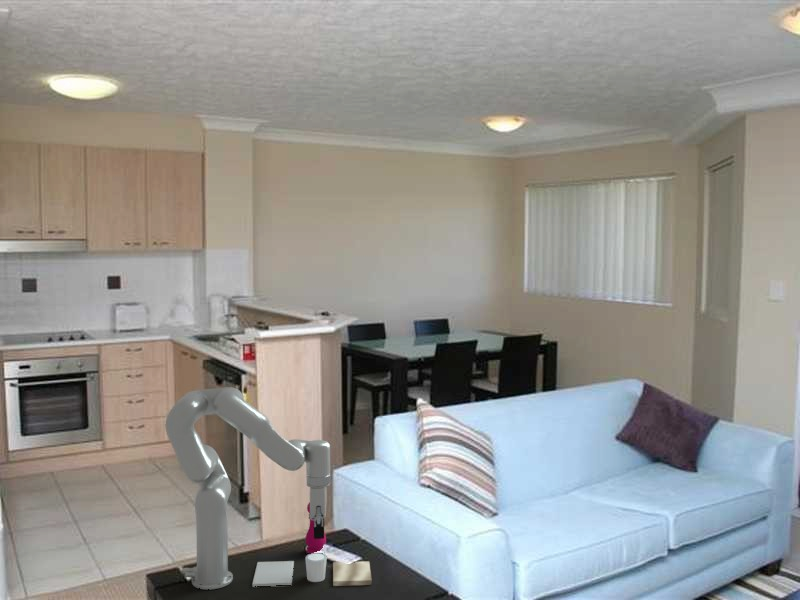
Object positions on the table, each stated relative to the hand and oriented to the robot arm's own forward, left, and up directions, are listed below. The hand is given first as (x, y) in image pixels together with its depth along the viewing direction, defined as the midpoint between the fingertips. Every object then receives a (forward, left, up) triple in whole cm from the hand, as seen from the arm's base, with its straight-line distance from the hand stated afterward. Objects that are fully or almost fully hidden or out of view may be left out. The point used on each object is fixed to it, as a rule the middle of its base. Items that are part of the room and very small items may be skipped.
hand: (319, 532), depth 231 cm
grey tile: (-15, +3, -15) cm, 21 cm away
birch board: (+10, +1, -15) cm, 18 cm away
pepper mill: (-2, +20, -15) cm, 25 cm away
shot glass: (-1, 0, -15) cm, 15 cm away
